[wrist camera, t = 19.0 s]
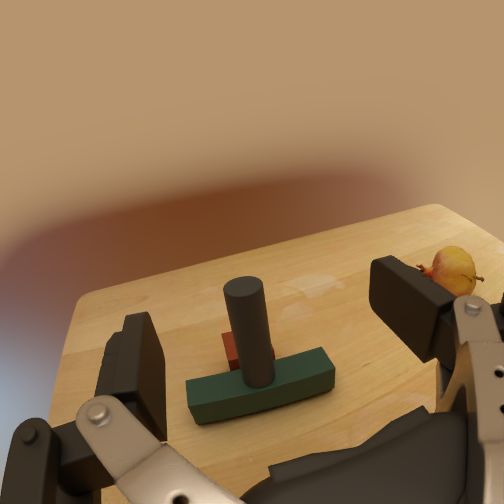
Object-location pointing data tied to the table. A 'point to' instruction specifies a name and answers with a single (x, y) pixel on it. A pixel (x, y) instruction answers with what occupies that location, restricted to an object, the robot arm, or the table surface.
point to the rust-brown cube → (233, 351)
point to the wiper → (256, 365)
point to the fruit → (453, 271)
